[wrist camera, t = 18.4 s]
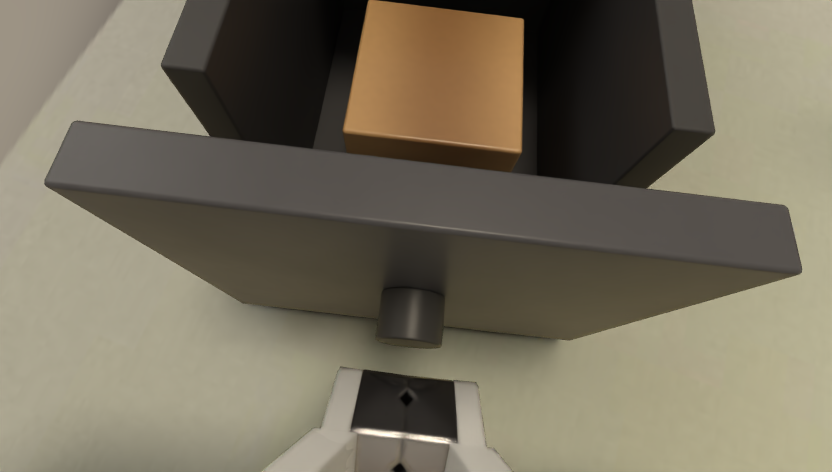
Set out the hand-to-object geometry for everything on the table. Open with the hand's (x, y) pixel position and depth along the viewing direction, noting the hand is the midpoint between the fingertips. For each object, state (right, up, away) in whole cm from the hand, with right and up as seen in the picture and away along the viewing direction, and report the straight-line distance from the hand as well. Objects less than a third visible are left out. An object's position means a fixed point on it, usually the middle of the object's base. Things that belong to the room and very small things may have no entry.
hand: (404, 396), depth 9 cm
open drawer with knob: (+1, +6, +8) cm, 10 cm away
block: (+1, +6, +6) cm, 9 cm away
